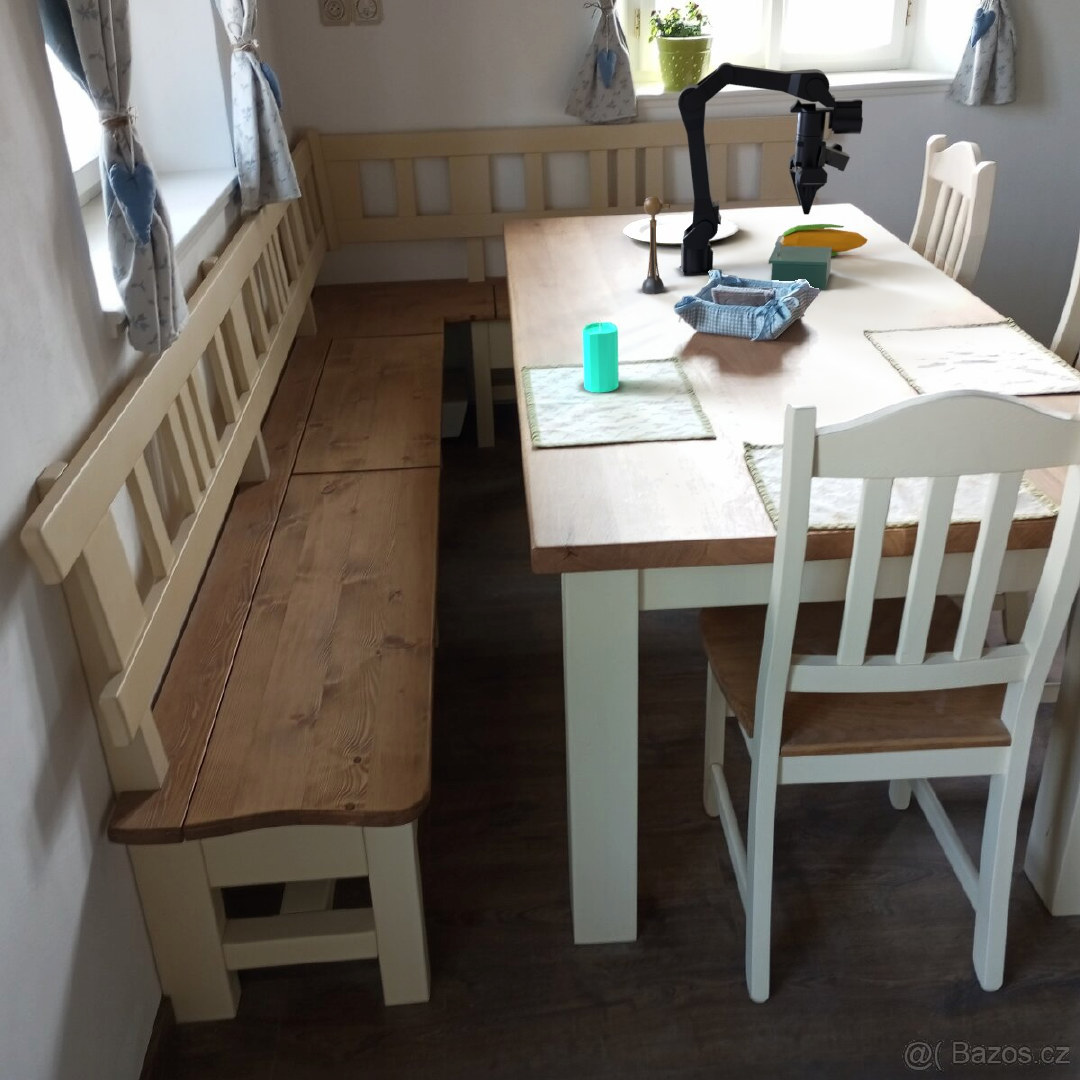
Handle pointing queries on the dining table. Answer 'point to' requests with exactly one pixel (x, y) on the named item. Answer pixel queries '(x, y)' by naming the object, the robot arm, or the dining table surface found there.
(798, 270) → the chest
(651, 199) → the wooden tabletop sculpture
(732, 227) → the plate
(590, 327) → the candle
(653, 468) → the dining table surface
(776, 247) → the lid
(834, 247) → the corn
